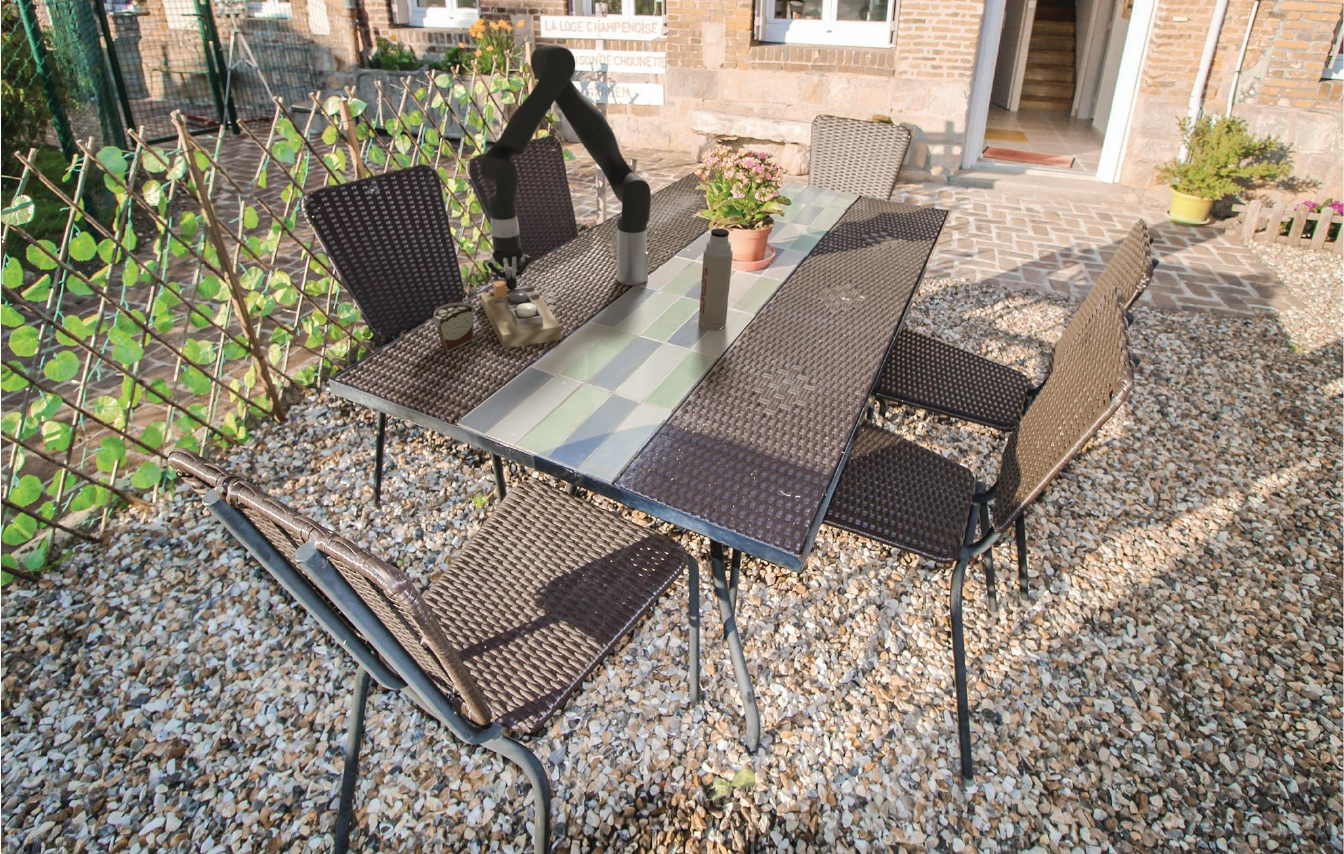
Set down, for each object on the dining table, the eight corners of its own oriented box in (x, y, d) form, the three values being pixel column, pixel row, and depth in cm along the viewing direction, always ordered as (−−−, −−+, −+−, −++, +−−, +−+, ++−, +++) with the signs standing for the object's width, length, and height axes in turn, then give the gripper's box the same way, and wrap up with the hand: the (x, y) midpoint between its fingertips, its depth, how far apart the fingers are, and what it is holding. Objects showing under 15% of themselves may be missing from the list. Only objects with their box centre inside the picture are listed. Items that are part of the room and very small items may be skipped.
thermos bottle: (700, 330, 212) (707, 236, 196) (697, 318, 219) (703, 225, 203) (727, 330, 213) (736, 236, 197) (723, 318, 220) (732, 226, 204)
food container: (462, 330, 206) (458, 297, 200) (477, 337, 203) (474, 304, 197) (427, 347, 197) (421, 313, 192) (442, 354, 195) (437, 320, 189)
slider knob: (504, 293, 217) (502, 280, 215) (507, 299, 214) (506, 286, 212) (493, 294, 216) (492, 282, 214) (496, 300, 213) (495, 287, 211)
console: (534, 298, 225) (533, 277, 221) (561, 339, 204) (560, 316, 200) (481, 305, 219) (479, 283, 215) (503, 348, 198) (501, 325, 194)
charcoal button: (524, 295, 211) (524, 289, 210) (529, 302, 207) (529, 296, 206) (507, 297, 209) (507, 291, 208) (511, 304, 205) (511, 298, 204)
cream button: (533, 308, 204) (532, 302, 203) (538, 315, 200) (537, 309, 199) (515, 310, 202) (514, 304, 201) (519, 318, 198) (519, 312, 197)
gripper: (525, 224, 210) (530, 281, 220) (478, 230, 205) (486, 287, 215) (532, 233, 204) (537, 291, 214) (484, 239, 200) (491, 298, 210)
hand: (511, 289), depth 215 cm, fingers closed
